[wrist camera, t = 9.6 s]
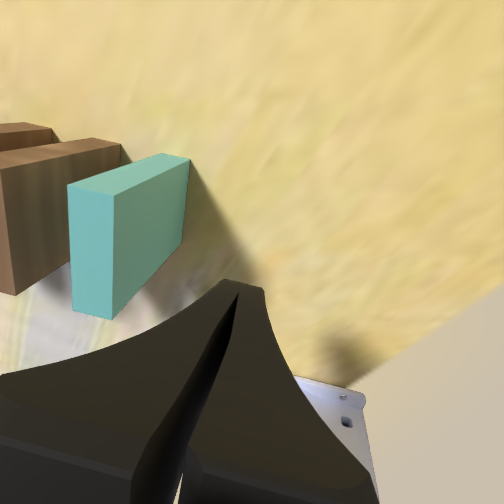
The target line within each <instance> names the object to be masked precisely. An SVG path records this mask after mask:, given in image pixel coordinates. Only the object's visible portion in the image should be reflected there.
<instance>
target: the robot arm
mask: <svg viewBox="0 0 504 504" xmlns="http://www.w3.org/2000/svg"><path fill="white" fill-rule="evenodd" d="M341 395H345V396H341ZM365 403H366V399H365V396H364V394H362V393H360V392H356V391H353V390H349V389H345V388H341V387H337V386H333V385H329V384H325V383H321V382H317V381H313V380H310V379H306V378H302V377H298V376H294V375H293V374H292V373H291V371H290V369H289V367H288V365H287V363H286V361H285V359H284V357H283V355H282V353H281V350H280V348H279V345H278V343H277V341H276V338H275V335H274V333H273V330H272V327H271V323H270V320H269V317H268V313H267V309H266V304H265V296H264V290H263V289H262V288H260V287H256V286H252V285H248V284H244V283H240V282H236V281H231V280H227V279H224V280H222V281H220V282H219V283H218V284H217V285H216V286H214V287H213V288H212V289H211V290H210V291H208V292H207V293H206V294H205V295H203V296H202V297H201V298H199V299H198V300H197V301H195V302H194V303H192V304H191V305H190V306H188V307H187V308H185V309H184V310H182V311H180V312H179V313H177V314H176V315H174V316H173V317H171V318H169V319H168V320H166V321H164V322H162V323H161V324H159V325H157V326H155V327H153V328H151V329H149V330H147V331H145V332H143V333H141V334H139V335H136V336H134V337H131V338H129V339H126V340H124V341H121V342H119V343H116V344H114V345H111V346H109V347H106V348H103V349H100V350H97V351H94V352H91V353H88V354H84V355H81V356H78V357H74V358H71V359H67V360H63V361H60V362H56V363H52V364H47V365H43V366H38V367H34V368H29V369H25V370H20V371H16V372H11V373H6V374H2V375H1V376H0V504H173V502H174V499H175V496H176V493H177V489H178V486H179V483H180V480H181V477H182V482H181V488H180V494H179V500H178V504H379V496H378V490H377V484H376V479H375V474H374V468H373V464H372V458H371V452H370V447H369V442H368V436H367V432H366V426H365V421H364V415H363V408H364V406H365ZM182 473H183V476H182Z"/></svg>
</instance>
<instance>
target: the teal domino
mask: <svg viewBox="0 0 504 504" xmlns="http://www.w3.org/2000/svg"><path fill="white" fill-rule="evenodd" d="M189 167H190V159H186V158H182V157H177V156H173V155H168V154H164V153H160V154H157V155H155V156H152V157H149V158H146V159H143V160H140V161H137V162H134V163H131V164H128V165H125V166H122V167H119V168H116V169H113V170H110V171H107V172H104V173H101V174H98V175H95V176H92V177H89V178H86V179H83V180H80V181H77V182H74V183H71V184H68V185H67V192H68V215H69V238H70V261H71V284H72V307H73V311H77V312H81V313H85V314H89V315H93V316H97V317H101V318H105V319H109V320H113V319H114V317H115V316H116V315H117V314H118V313H119V312H120V311H121V310H122V309H123V307H124V306H125V305H126V304H127V303H128V302H129V301H130V300H131V298H132V297H133V296H134V295H135V294H136V293H137V292H138V291H139V290H140V288H141V287H142V286H143V285H144V284H145V283H146V282H147V281H148V280H149V278H150V277H151V276H152V275H153V274H154V273H155V272H156V271H157V269H158V268H159V267H160V266H161V265H162V264H163V263H164V262H165V261H166V259H167V258H168V257H169V256H170V255H171V254H172V253H173V252H174V250H175V249H176V248H177V247H178V246H179V245H180V244H181V240H182V231H183V221H184V212H185V203H186V194H187V185H188V176H189Z"/></svg>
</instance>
